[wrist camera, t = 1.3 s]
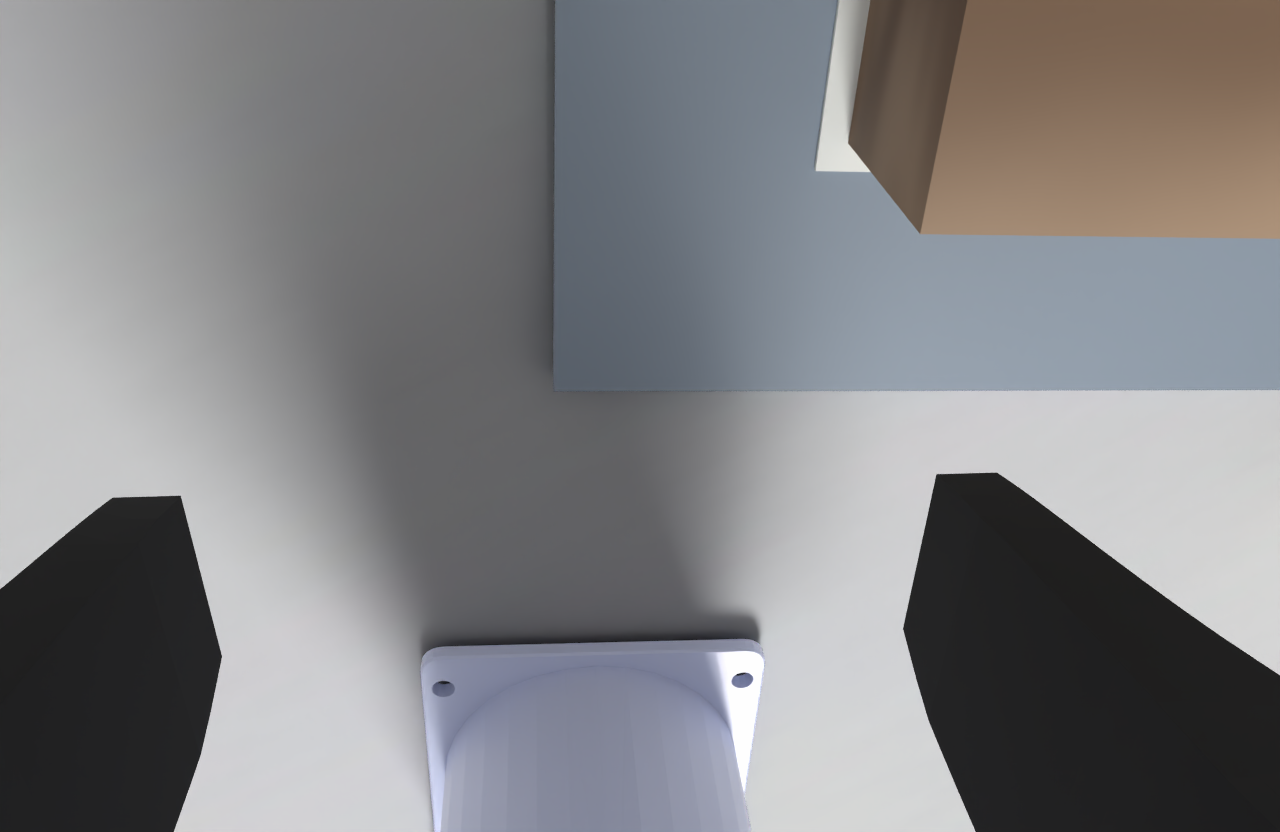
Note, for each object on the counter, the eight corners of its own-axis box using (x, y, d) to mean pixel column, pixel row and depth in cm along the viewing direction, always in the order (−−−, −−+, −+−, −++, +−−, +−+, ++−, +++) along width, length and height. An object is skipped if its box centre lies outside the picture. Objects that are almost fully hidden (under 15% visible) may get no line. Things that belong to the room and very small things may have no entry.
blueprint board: (1309, 374, 22) (1330, 392, 22) (553, 375, 21) (553, 394, 20) (1692, -483, 15) (1740, -492, 14) (557, -581, 13) (558, -597, 13)
